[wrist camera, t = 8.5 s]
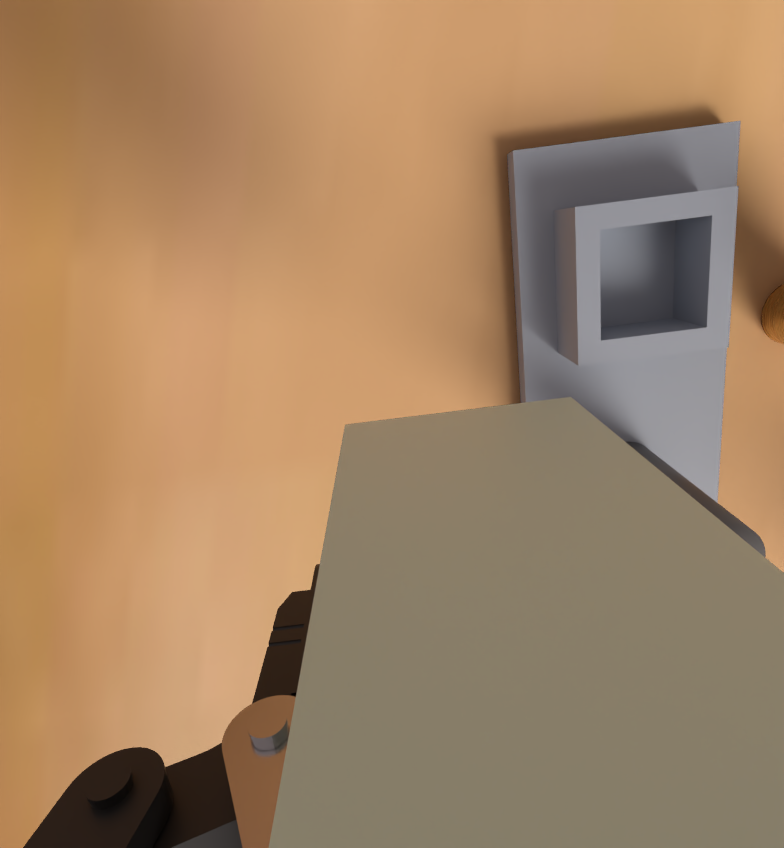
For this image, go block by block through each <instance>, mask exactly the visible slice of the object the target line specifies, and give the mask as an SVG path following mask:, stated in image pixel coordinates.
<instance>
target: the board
mask: <svg viewBox="0 0 784 848" xmlns="http://www.w3.org/2000/svg"><path fill="white" fill-rule="evenodd" d="M739 136H740V121H735V122H728V123H720V124H713V125H705V126H697V127H690V128H682V129H674V130H667V131H659V132H651V133H644V134H636V135H629V136H621V137H613V138H606V139H598V140H590V141H583V142H575V143H568V144H560V145H552V146H545V147H537V148H529V149H522V150H514V151H512V152H510V153H509V154H507V161H508V179H509V197H510V216H511V234H512V252H513V271H514V289H515V308H516V326H517V344H518V363H519V381H520V399H521V403H525V402H533V401H541V400H550V399H558V398H566V397H572V398H573V399H574V400H575V401H577V402H578V403H579V404H580V405H581V406H583V407H584V408H585V409H586V410H587V411H589V412H590V413H591V414H592V415H593V416H595V417H596V418H597V419H598V420H599V421H601V422H602V423H603V424H604V425H606V426H607V427H608V428H609V429H610V430H612V431H613V432H614V433H615V434H616V435H618V436H619V437H620V438H621V439H622V440H624V441H625V442H626V443H627V444H628V445H630V446H631V447H632V448H633V449H635V450H636V451H637V452H638V453H639V454H641V455H642V456H643V457H644V458H645V459H647V460H648V461H649V462H650V463H651V464H653V465H654V466H655V467H656V468H657V469H659V470H660V471H661V472H662V473H664V474H665V475H666V476H667V477H668V478H670V479H671V480H672V481H673V482H674V483H676V484H677V485H678V486H679V487H680V488H682V489H683V490H684V491H685V492H686V493H688V494H689V495H690V496H691V497H693V498H694V499H695V500H696V501H697V502H699V503H700V504H701V505H702V506H703V507H705V508H706V509H707V510H708V511H709V512H711V513H712V514H713V515H714V516H715V517H717V518H718V519H719V520H720V521H722V522H723V523H724V524H725V525H726V526H728V527H729V528H730V529H731V530H732V531H734V532H735V533H736V534H737V535H738V536H740V537H741V538H742V539H743V540H744V541H746V542H747V543H748V544H749V545H751V546H752V547H753V548H754V549H755V550H757V551H758V552H759V553H760V554H761V555H763V556H764V557H765V547H764V544H763V542H762V540H761V538H760V537H759V536H758V535H757V534H756V533H755V532H754V531H753V530H752V529H750V528H749V527H748V526H746V525H745V524H744V523H743V522H741V521H740V520H739V519H737V518H736V517H735V516H734V515H732V514H731V513H730V512H728V511H727V510H726V509H725V508H723V507H722V506H721V505H720V504H718V503H717V501H718V484H719V468H720V451H721V435H722V418H723V402H724V385H725V368H726V352H727V347H729V332H730V316H731V299H732V283H733V267H734V250H735V234H736V218H737V201H738V186H737V170H738V153H739Z"/></svg>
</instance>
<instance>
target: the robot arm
mask: <svg viewBox="0 0 784 848" xmlns="http://www.w3.org/2000/svg"><path fill="white" fill-rule="evenodd" d="M319 566H320V564H317V565H316V566H315V570H314V576H313V581H312V586H311V590H306V591H298V592H292V593H291V594H290V595H289V597H288V598H287V599H286V600H285V601H284V603H283V604H282V605H281V606H280V607H279V608H278V610H277V614H276V618H275V622H274V625H273V631H272V633H271V636H270V640H269V647H267V651H266V655H265V658H264V662H263V666H262V669H261V673H260V677H259V681H258V684H257V688H256V692H255V695H254V699H253V703H252V704H251V705H249V706H248V707H246V708H245V709H243V710H242V711H241V712H240V713H239V714H238V715H237V716H236V717H235V718H234V719H233V720H232V721H231V723H230V724H229V725H228V727H227V729H226V731H225V733H224V736H223V740H222V743H220V744H219V745H217V746H215V747H214V748H212V749H210V750H208V751H206V752H203V753H201V754H198V755H196V756H193V757H191V758H188V759H186V760H183V761H180V762H178V763H175V764H173V765H170V766H168V767H165V766H164V763H163V760H162V758H161V757H160V756H159V754H158V753H156V752H155V751H153V750H151V749H148V748H141V747H137V748H128V749H123V750H120V751H117V752H114V753H112V754H109V755H107V756H105V757H103V758H102V759H100V760H98V761H97V762H95V763H94V764H92V765H91V766H89V767H88V768H87V769H85V770H84V771H83V772H82V773H81V774H80V775H79V776H78V777H77V778H76V779H75V780H74V781H73V782H72V783H71V784H70V786H69V787H68V788H67V789H66V791H65V792H64V793H63V795H62V796H61V797H60V799H59V800H58V801H57V803H56V804H55V805H54V807H53V808H52V810H51V811H50V812H49V814H48V815H47V816H46V818H45V819H44V820H43V822H42V823H41V824H40V826H39V827H38V828H37V830H36V831H35V832H34V834H33V835H32V836H31V838H30V839H29V840H28V842H27V843H26V844H25V846H24V847H23V848H269V843H270V837H271V832H272V826H273V821H274V815H275V810H276V804H277V798H278V793H279V787H280V782H281V776H282V771H283V765H284V760H285V754H286V749H287V743H288V738H289V732H290V727H291V721H292V716H293V710H294V705H295V699H296V693H297V688H298V682H299V677H300V671H301V666H302V660H303V655H304V649H305V644H306V638H307V633H308V627H309V622H310V616H311V611H312V605H313V599H314V594H315V588H316V583H317V577H318V572H319Z"/></svg>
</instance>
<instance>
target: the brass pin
mask: <svg viewBox="0 0 784 848" xmlns="http://www.w3.org/2000/svg"><path fill="white" fill-rule="evenodd" d="M762 326H763V329H764V331H765V333H766V334H767V335H768V337H769V338H771V339H772V340H774V341H776V342H778V343H782V344H784V284H783V285H781V286H780V287H778V288H777V289H776V290H775V291H774V292H773V293H772V294H771V295H770V296H769V298H768V299H767V301H766V303H765V305H764V308H763V311H762Z"/></svg>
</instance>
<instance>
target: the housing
mask: <svg viewBox="0 0 784 848" xmlns="http://www.w3.org/2000/svg"><path fill="white" fill-rule="evenodd" d="M269 848H784V573H783V572H782V571H781V570H780V569H778V568H777V567H776V566H775V565H773V564H772V563H771V562H770V561H769V560H767V559H766V558H765V557H764V556H763V555H761V554H760V553H759V552H758V551H757V550H755V549H754V548H753V547H752V546H751V545H749V544H748V543H747V542H746V541H744V540H743V539H742V538H741V537H740V536H738V535H737V534H736V533H735V532H734V531H732V530H731V529H730V528H729V527H728V526H726V525H725V524H724V523H723V522H722V521H720V520H719V519H718V518H717V517H715V516H714V515H713V514H712V513H711V512H709V511H708V510H707V509H706V508H705V507H703V506H702V505H701V504H700V503H699V502H697V501H696V500H695V499H694V498H693V497H691V496H690V495H689V494H688V493H686V492H685V491H684V490H683V489H682V488H680V487H679V486H678V485H677V484H676V483H674V482H673V481H672V480H671V479H670V478H668V477H667V476H666V475H665V474H664V473H662V472H661V471H660V470H659V469H657V468H656V467H655V466H654V465H653V464H651V463H650V462H649V461H648V460H647V459H645V458H644V457H643V456H642V455H641V454H639V453H638V452H637V451H636V450H635V449H633V448H632V447H631V446H630V445H628V444H627V443H626V442H625V441H624V440H622V439H621V438H620V437H619V436H618V435H616V434H615V433H614V432H613V431H612V430H610V429H609V428H608V427H607V426H606V425H604V424H603V423H602V422H601V421H599V420H598V419H597V418H596V417H595V416H593V415H592V414H591V413H590V412H589V411H587V410H586V409H585V408H584V407H583V406H581V405H580V404H579V403H578V402H577V401H575V400H574V399H573V398H572V397H566V398H558V399H550V400H541V401H533V402H525V403H517V404H509V405H501V406H493V407H484V408H476V409H468V410H460V411H452V412H444V413H436V414H427V415H419V416H411V417H403V418H395V419H387V420H379V421H370V422H362V423H354V424H346V425H345V428H344V434H343V439H342V445H341V450H340V456H339V461H338V467H337V472H336V478H335V483H334V489H333V494H332V500H331V506H330V511H329V517H328V522H327V528H326V533H325V539H324V544H323V550H322V555H321V561H320V566H319V572H318V577H317V583H316V588H315V594H314V599H313V605H312V611H311V616H310V622H309V627H308V633H307V638H306V644H305V649H304V655H303V660H302V666H301V671H300V677H299V682H298V688H297V693H296V699H295V705H294V710H293V716H292V721H291V727H290V732H289V738H288V743H287V749H286V754H285V760H284V765H283V771H282V776H281V782H280V787H279V793H278V798H277V804H276V810H275V815H274V821H273V826H272V832H271V837H270V843H269Z"/></svg>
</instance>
